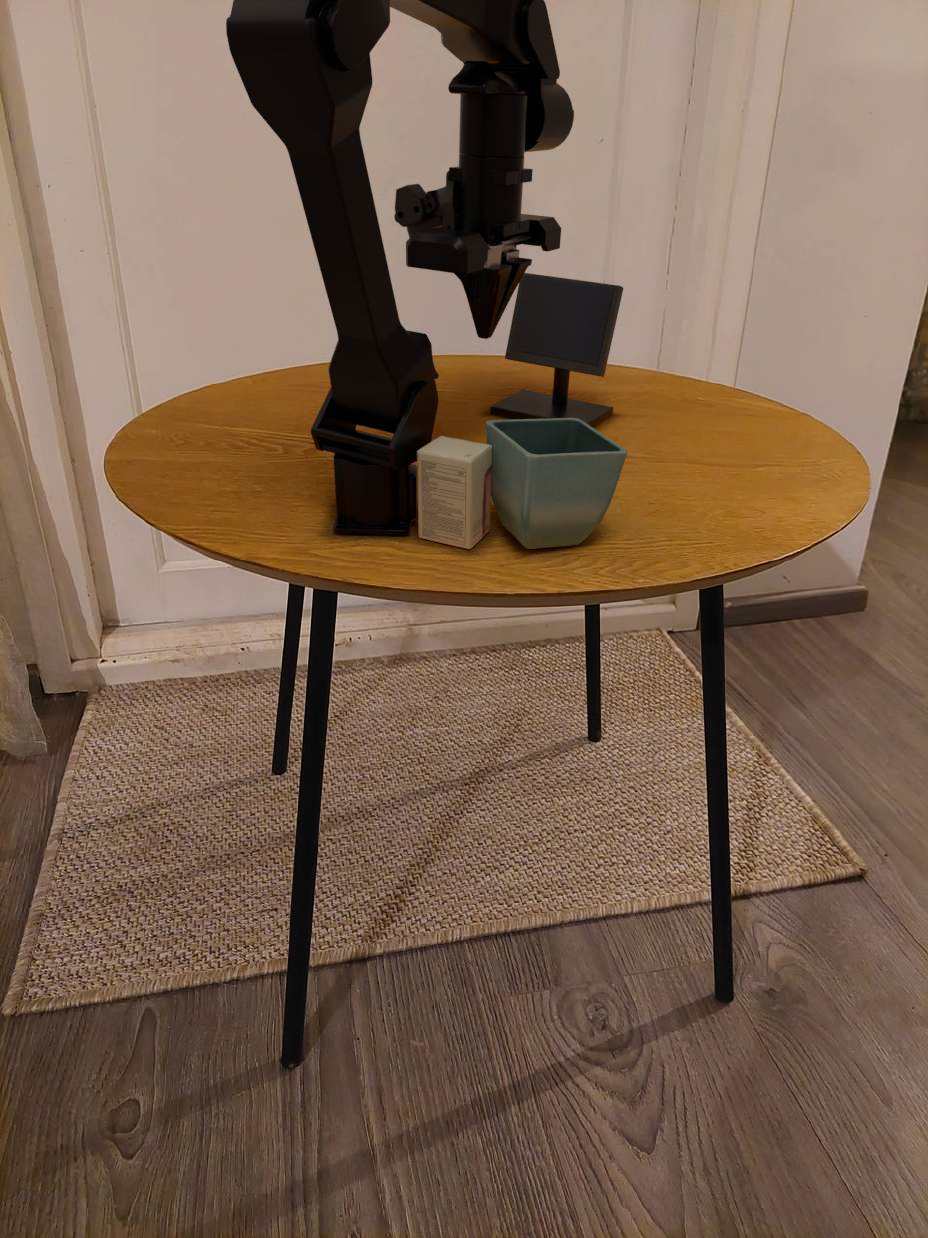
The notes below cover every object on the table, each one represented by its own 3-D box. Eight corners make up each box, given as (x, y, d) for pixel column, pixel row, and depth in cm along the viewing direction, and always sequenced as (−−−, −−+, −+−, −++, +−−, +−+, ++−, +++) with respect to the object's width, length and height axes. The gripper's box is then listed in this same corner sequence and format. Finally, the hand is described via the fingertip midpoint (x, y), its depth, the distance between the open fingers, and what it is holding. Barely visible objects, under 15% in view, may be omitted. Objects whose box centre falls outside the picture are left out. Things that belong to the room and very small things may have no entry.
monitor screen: (600, 376, 99) (619, 285, 96) (503, 358, 104) (520, 271, 102) (604, 377, 100) (624, 287, 98) (508, 359, 105) (525, 273, 103)
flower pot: (563, 512, 82) (578, 415, 78) (611, 554, 75) (630, 450, 71) (474, 519, 79) (484, 419, 75) (515, 564, 72) (529, 456, 68)
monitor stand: (584, 434, 100) (590, 368, 96) (489, 414, 105) (492, 350, 101) (612, 415, 106) (619, 352, 102) (521, 396, 111) (525, 336, 107)
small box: (491, 531, 78) (495, 443, 74) (469, 551, 75) (472, 461, 71) (439, 519, 80) (440, 433, 76) (416, 538, 77) (415, 449, 72)
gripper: (467, 145, 89) (463, 309, 97) (352, 153, 75) (358, 344, 83) (569, 152, 85) (556, 324, 92) (466, 162, 71) (461, 363, 79)
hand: (484, 337), depth 87 cm, fingers closed
